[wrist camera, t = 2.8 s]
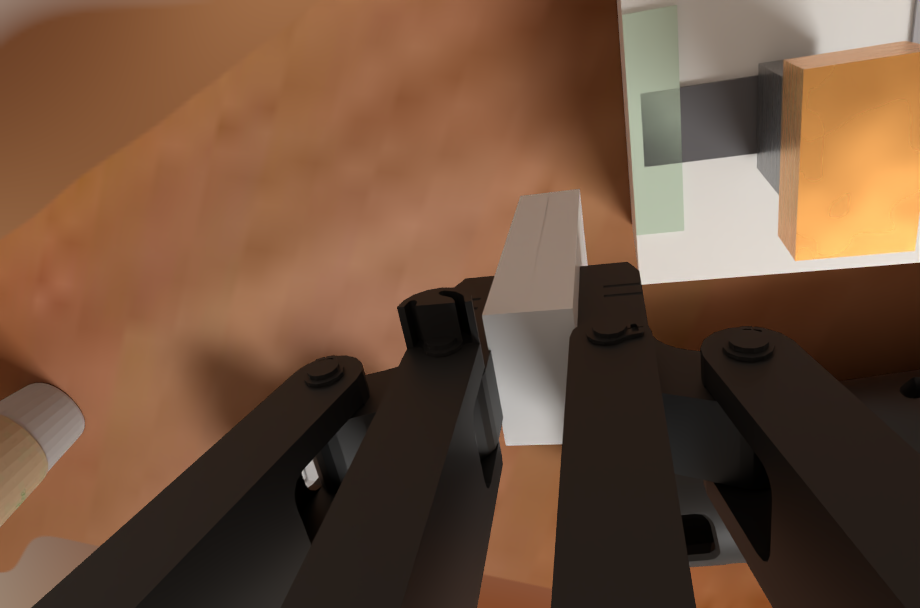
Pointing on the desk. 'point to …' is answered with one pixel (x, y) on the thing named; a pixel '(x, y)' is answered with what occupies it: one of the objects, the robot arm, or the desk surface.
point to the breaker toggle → (843, 149)
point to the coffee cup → (33, 439)
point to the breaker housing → (724, 126)
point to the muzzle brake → (888, 396)
